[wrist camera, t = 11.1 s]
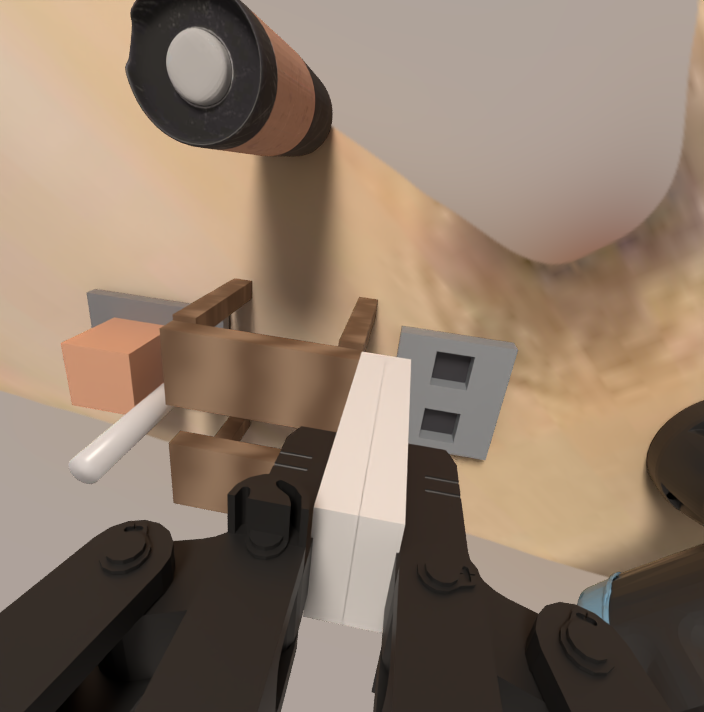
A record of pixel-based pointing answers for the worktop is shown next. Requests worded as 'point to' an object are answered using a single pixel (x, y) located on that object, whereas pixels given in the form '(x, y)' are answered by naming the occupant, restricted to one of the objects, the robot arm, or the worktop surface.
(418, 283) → the worktop surface
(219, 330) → the wooden rack
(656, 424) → the worktop surface
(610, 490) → the worktop surface
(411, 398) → the pit plate
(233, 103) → the travel mug
